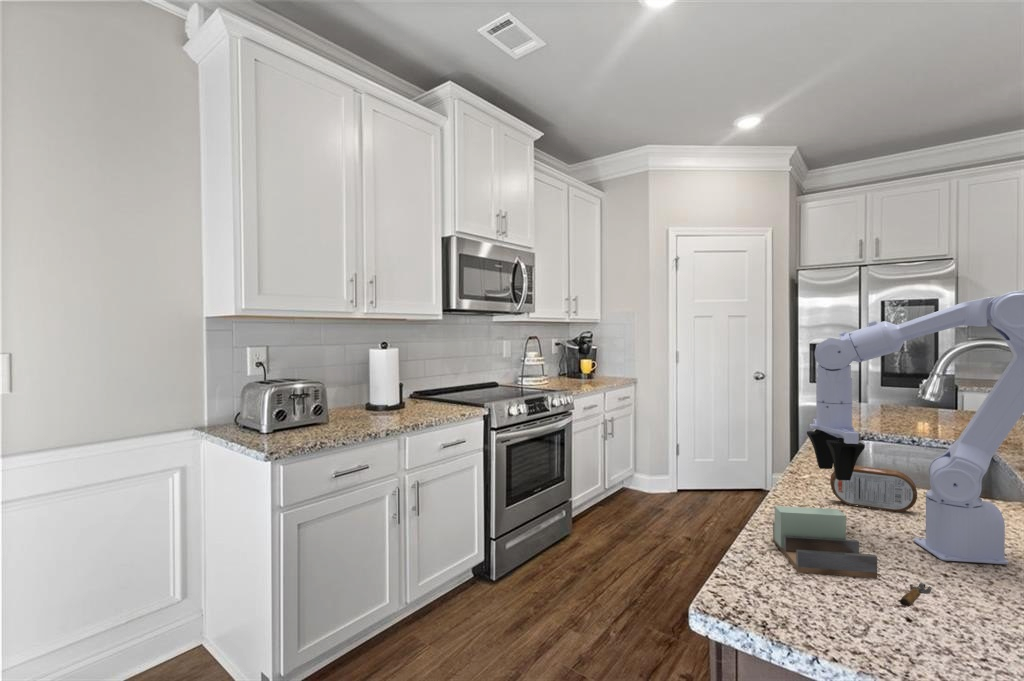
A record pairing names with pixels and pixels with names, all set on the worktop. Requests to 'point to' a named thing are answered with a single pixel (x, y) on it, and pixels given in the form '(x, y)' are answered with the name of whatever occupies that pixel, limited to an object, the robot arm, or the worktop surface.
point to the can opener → (914, 594)
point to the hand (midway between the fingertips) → (833, 473)
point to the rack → (828, 556)
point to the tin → (876, 489)
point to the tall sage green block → (808, 523)
